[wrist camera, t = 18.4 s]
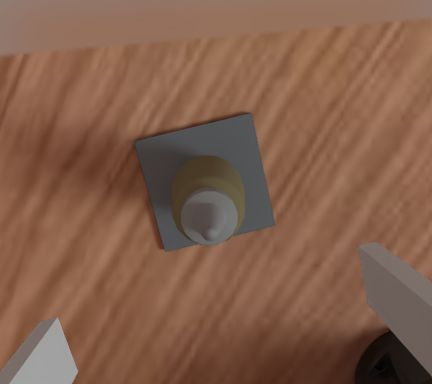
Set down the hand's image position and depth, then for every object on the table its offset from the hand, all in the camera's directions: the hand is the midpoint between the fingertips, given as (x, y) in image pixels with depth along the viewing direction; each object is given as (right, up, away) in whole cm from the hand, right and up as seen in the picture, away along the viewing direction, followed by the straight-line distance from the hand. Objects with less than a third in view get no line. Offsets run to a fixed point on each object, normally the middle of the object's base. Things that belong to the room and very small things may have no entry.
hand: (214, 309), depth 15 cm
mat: (-1, +6, +28) cm, 29 cm away
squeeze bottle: (-1, +6, +28) cm, 28 cm away
